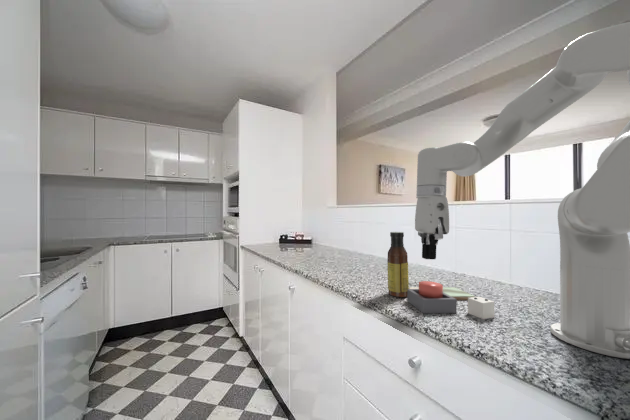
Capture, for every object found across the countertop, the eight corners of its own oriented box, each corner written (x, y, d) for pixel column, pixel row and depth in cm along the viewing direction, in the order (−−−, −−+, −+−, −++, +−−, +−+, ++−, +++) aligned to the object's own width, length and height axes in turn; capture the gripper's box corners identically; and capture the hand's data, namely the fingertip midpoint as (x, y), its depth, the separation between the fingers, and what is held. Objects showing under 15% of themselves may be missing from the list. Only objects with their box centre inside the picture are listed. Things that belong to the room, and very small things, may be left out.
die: (494, 317, 61) (494, 300, 61) (482, 319, 60) (483, 301, 60) (478, 311, 65) (479, 295, 65) (467, 313, 64) (468, 296, 64)
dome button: (447, 298, 65) (447, 287, 65) (425, 298, 64) (426, 287, 64) (434, 291, 71) (434, 281, 71) (414, 291, 70) (414, 281, 70)
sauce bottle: (405, 292, 80) (406, 231, 80) (411, 298, 74) (412, 232, 74) (385, 291, 81) (386, 231, 81) (389, 297, 74) (389, 232, 75)
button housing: (456, 312, 63) (456, 299, 64) (423, 313, 63) (423, 299, 63) (436, 300, 72) (436, 288, 72) (407, 301, 72) (407, 289, 72)
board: (477, 299, 74) (477, 296, 74) (421, 300, 73) (421, 296, 73) (455, 289, 84) (455, 287, 84) (406, 290, 82) (406, 287, 83)
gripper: (461, 191, 61) (459, 264, 61) (429, 195, 76) (427, 254, 76) (433, 190, 61) (430, 264, 60) (405, 194, 76) (403, 253, 75)
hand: (428, 258), depth 68 cm, fingers closed
